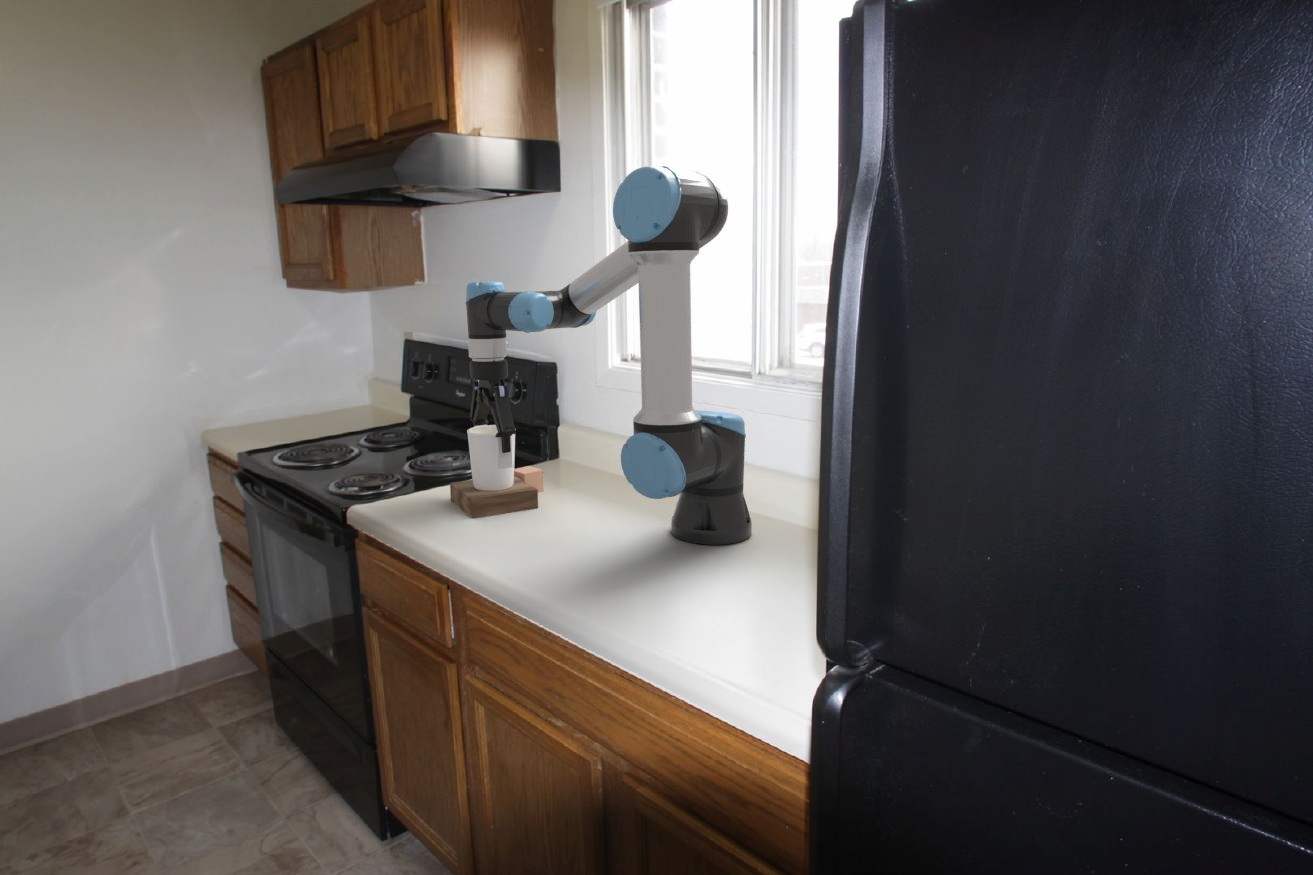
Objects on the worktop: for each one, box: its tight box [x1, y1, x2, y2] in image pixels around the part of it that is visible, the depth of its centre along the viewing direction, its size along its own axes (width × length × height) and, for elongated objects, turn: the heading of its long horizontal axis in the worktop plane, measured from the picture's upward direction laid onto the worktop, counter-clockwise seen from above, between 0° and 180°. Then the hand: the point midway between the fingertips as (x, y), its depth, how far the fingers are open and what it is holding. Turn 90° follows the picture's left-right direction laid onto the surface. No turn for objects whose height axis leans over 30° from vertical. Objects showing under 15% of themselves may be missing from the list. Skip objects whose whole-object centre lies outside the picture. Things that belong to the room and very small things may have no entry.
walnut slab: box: [449, 476, 539, 519], centre depth 172 cm, size 14×14×4 cm
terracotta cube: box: [514, 465, 544, 494], centre depth 182 cm, size 5×5×5 cm
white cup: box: [466, 424, 517, 491], centre depth 170 cm, size 10×10×12 cm
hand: (493, 461), depth 170 cm, fingers open, 13 cm apart
